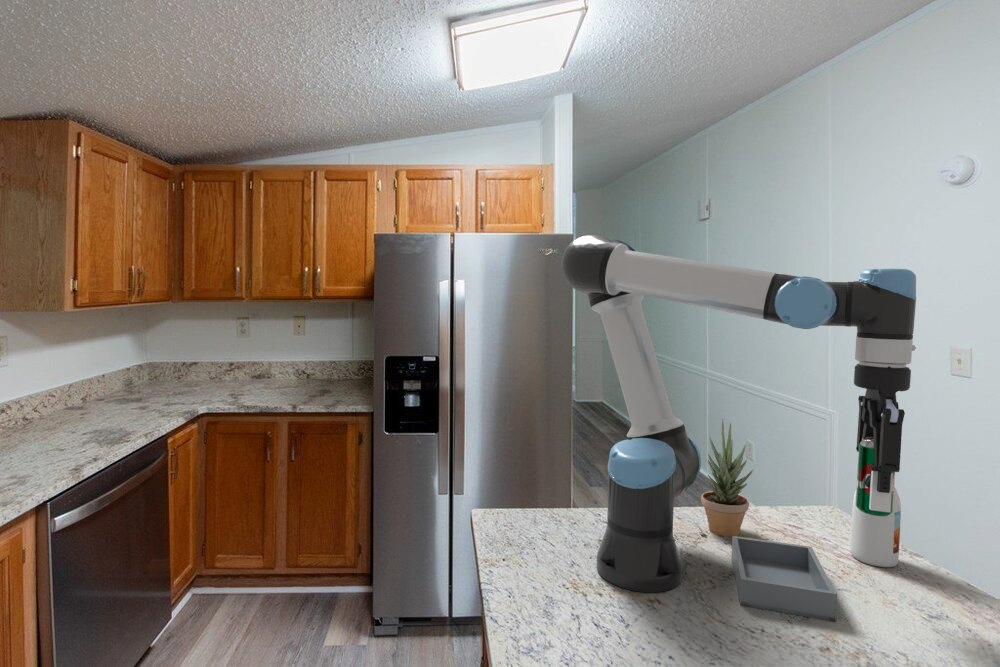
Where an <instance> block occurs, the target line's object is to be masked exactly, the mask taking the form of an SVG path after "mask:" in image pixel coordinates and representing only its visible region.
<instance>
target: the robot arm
mask: <svg viewBox="0 0 1000 667" xmlns="http://www.w3.org/2000/svg"><path fill="white" fill-rule="evenodd" d="M560 265H561V271H562V276H563V278H564V280H565V281H566V283H567V284H568V285H569V286H570V287H571V288H572V289H574V290H575V291H577V292H580V293H582V294H587V298H588V302H589V305H590V309H591V310H592V311H593V312H596V314H597V313H598V314H599V316H600V318H601V321H602V325H603V329H604V332H605V336H606V338H607V343H608V346H609V349H610V354H611V358H612V361H613V364H614V367H615V371H616V375H617V378H618V382H619V384H620V388H621V392H622V395H623V399H624V402H625V407H626V409H627V414H628V417H629V420H630V428H629V431H628V432H627V434H626V438H627V439H624V440H620V441H619V442H616V443H615V444H614V445H613V446H612V447H611V449H610V451H609V456H608V462H607V512H606V513H607V517H606V519H607V521H606V524H607V525H606V529H605V532H604V535H603V537H602V539H601V543H600V546H599V548H598V551H597V554H596V571H597V573H598V574H599V575H600V576H601V577H602V578H603V579H604V580H605V581H607V582H609V583H610V584H612V585H614V586H617V587H619V588H621V589H625V590H629V591H634V592H641V593H660V592H666V591H669V590H672V589H674V588H675V587H678V585H679V584H680V583H681V582H682V574H683V570H682V569H683V567H682V566H683V564H682V561H681V558H680V554H679V551H678V546H677V544H676V540H675V537H674V532H673V531H674V507H675V506H674V504H675V500H676V499H677V498H679V496H680V495H681V494H683V493H684V492H685V491H687V490H688V489H689V488H690V487H691V486H693V484H694V483H695V481H696V480H697V477H698V476H699V474H700V472H701V467H702V457H701V452H700V450H699V448H698V445H697V444H696V443H695V441H694V440H693V439H692V438H690V437H689V436H688V433H687V430H686V427H685V423H684V421H682V420H681V419H679V418H678V417H676V416H675V415H674V413H673V409H672V406H671V403H670V399H669V397H668V392H667V389H666V386H665V383H664V379H663V376H662V372H661V368H660V366H659V362H658V359H657V355H656V352H655V348H654V345H653V342H652V338H651V334H650V331H649V328H648V324H647V320H646V317H645V314H644V311H643V306H642V302H643V300H644V299H645V298H644V297H648V298H653V299H660V300H665V301H670V302H674V303H679V304H685V305H689V306H694V307H700V308H706V309H709V310H715V311H716V310H717V311H721V312H724V313H730V314H736V315H739V316H740V315H741V316H746V317H750V318H756V319H761V320H766V321H769V322H774V323H780V324H783V325H788V326H789V327H792V328H796V329H801V330H811V329H815V328H818V327H822V326H824V327H845V328H846V327H850V328H851V327H855V328H856V337H855V350H854V351H855V352H854V353H855V354H854V360H855V361H857V362H858V363H856V365H855V366H854V374H853V375H854V376H853V385H854V386H856V387H858V388H861V389H865V393H864V394H865V395H859V396H858V420H857V421H858V422H857V433H856V434H857V435H856V447H855V450H856V452H857V453H859V444H860V443H861V442H862V438H864V437H874V467H869V470H870V471H871V486H870V502H869V509H870V510H874V511H882V512H890V510H891V495H892V480H893V473H894V472H895V473H900V471H901V470H900V468H901V452H902V451H901V449H902V435H903V434H902V433H903V422H904V418H905V414H906V413H905V410H904V409H900V408H899V402H897V395H896V394H897V393H898V392H907V391H909V390H910V388H911V376H912V370H911V369H910V367H908V365H910V364H911V363H912V355H913V352H914V351H916V349H917V347H916V345H915V344H913V343H914V342H913V341H914V330H915V329H914V328H915V316H916V306H917V305H916V303H917V275H916V274H915V273H914V271H913V270H910V269H906V268H870V269H863V270H862V271H861V272H860V276H859V278H858V280H855V281H824V280H822V279H820V278H816V277H810V276H798V275H791V274H786V273H784V274H782V273H776V272H771V271H765V270H759V269H752V268H745V267H739V266H733V265H727V264H719V263H715V262H714V263H713V262H707V261H699V260H693V259H687V258H680V257H674V256H670V255H669V256H668V255H663V254H662V255H661V254H655V253H650V252H649V253H648V252H641V251H638V250H637V249H636V248H635V247H633V246H631V245H630V244H628V243H627V242H625V241H622V240H619V239H610V238H606V237H603V236H600V235H595V234H594V235H592V234H591V235H583V236H579V237H578V238H576V239H574V240H573V241H572V242H570V243H569V245H568V246H567V247H566V248H565V250H564V252H563V255H562V258H561V264H560Z"/></svg>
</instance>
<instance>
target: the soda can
mask: <svg viewBox="0 0 1000 667" xmlns="http://www.w3.org/2000/svg"><path fill="white" fill-rule="evenodd" d="M857 457H858V458H857V476H856V488H857V489H855V491H856V506H857V508H858V509H859V510H860V511H862V512H864V513H866V514H870V515H874V516H888V515H890V514H891V513H892V512H893V498H894V486H895V481H896V472H894V473H893V480H892V495H891V510H890V512H882V511H874V510H870V509H869V502H870V486H871V471H870V470H869V467H874V437H864V438H862V442H861V443H860V444H859V452H858V456H857Z"/></svg>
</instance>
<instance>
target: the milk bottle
mask: <svg viewBox="0 0 1000 667" xmlns="http://www.w3.org/2000/svg"><path fill="white" fill-rule="evenodd" d="M856 489H857V487H856ZM856 489H855V491H854V495H853V500H852V513H851V514H852V515H851V527H850V528H851V529H850V531H851V532H850V554H851V556H853V558H855V560H858V561H860V562H862V563H864V564H868V565H869V566H874V567H881V568H894V567H896V566H897V565H898V564H899V557H900V556H899V555H900V554H899V553H900V538H901V535H900V534H901V519H902V518H901V517H902V514H901V511H902V510H901V509H902V508H901V506H902V505H901V499H900V495H899V493H898V490H897V488H896V487H895V485H894V498H893V512H892V513H891V514H890V515H888V516H874V515H870V514H866V513H864V512H862V511H860V510H859V509H858V508H857V506H856Z"/></svg>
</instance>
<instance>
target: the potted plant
mask: <svg viewBox="0 0 1000 667" xmlns="http://www.w3.org/2000/svg"><path fill="white" fill-rule="evenodd" d="M733 443H734V442H733V439H732V423H731V422H730V423H729V427H728V430H727V437H726V438H725V426H724V418H722V419H721V450H722V452H718V451H717V448H716V447H715V445H714V443H713V440H712V438H711V437H709V444H710V446H711V450H712V452H713V454H714V457H715V459H716V462H717V464H718V465H717V464H716V462H714V460H713V459H712V457H711V455H710V454H709V453H707V455H708V459H707V464H708V466H709V468H710V470H711V475H712V477H713V478H712V477H711V476H710V475H709V474H708V475H707V476H708V478H709V480H710V481H711V483H712V484H713V485H712V484H711V483H709V482H708V485H709V487H710V489H711V490H712V491H711V490H710V491H705V492H703V493H702V494H701V497H700V498H701V504H702V505H703V507H704V512H705V515H706V518H707V523H708V524H707V525H708V529H709V531H710V532H711V533H714V534H717V535H718V536H721V537H732V536H736V535H737V536H739V534H740V533H741V527H742V524H743V521H744V519H745V516H746V512H747V511H748V510H749V509H750V501H749V499H748V498H747V497H745V496H743V495H741V494H740V493H741V492H742V490H743V489H744V488H745V487H746V486H747V485H748V483H745V482H746V480H748V478H749V477H750V476H751V475H752V473H753V472H754V469H752V470H751V471H749V473H748V474H747V475H745V476H743V477H742V478H739V476H740V474H741V473H742V471H743V469H744V467H745V466H746V464H747V459H746V460H744V462H743V459H744V455H745V452H746V451H745V450H746V446H747V444H744V446H743V448H742V449H741V451H740V452H739V453H738V455H737V456H736V457H735V459H734V460H733V450H734V449H733V448H734V446H733ZM721 453H722V454H721ZM738 478H739V479H738Z"/></svg>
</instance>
